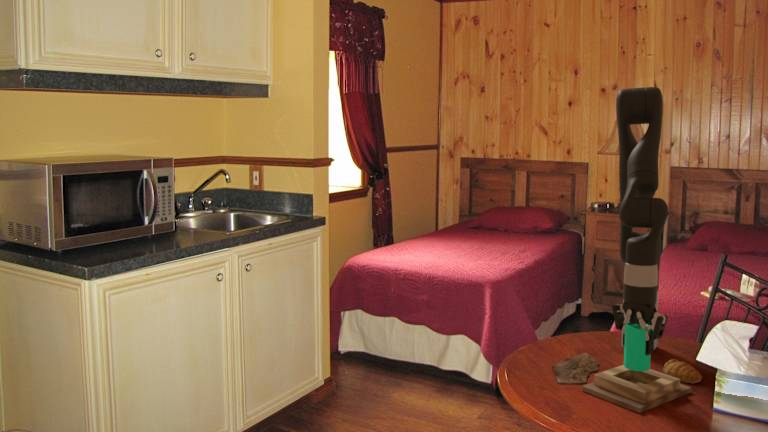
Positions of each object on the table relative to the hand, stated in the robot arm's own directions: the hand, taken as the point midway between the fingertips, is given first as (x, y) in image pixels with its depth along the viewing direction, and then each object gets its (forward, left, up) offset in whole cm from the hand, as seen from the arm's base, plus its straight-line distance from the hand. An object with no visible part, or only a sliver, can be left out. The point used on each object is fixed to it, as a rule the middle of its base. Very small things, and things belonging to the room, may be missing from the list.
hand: (637, 351), depth 165 cm
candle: (0, 0, -4) cm, 4 cm away
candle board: (0, 0, -10) cm, 10 cm away
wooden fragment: (-1, -19, -11) cm, 22 cm away
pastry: (-18, +1, -11) cm, 21 cm away
